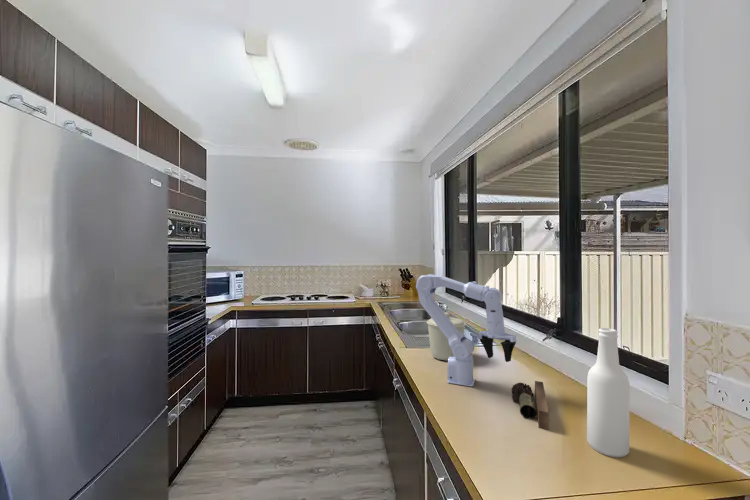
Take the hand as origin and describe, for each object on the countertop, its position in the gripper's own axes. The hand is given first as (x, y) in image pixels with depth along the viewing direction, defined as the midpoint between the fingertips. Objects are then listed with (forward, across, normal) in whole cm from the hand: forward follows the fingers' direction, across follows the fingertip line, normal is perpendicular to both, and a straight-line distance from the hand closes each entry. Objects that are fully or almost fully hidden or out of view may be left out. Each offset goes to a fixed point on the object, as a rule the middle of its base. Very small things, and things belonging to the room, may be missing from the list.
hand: (499, 359), depth 123 cm
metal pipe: (+12, +12, -6) cm, 18 cm away
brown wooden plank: (+12, +17, -4) cm, 21 cm away
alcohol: (+14, +38, -9) cm, 41 cm away
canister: (+8, -37, +9) cm, 39 cm away
